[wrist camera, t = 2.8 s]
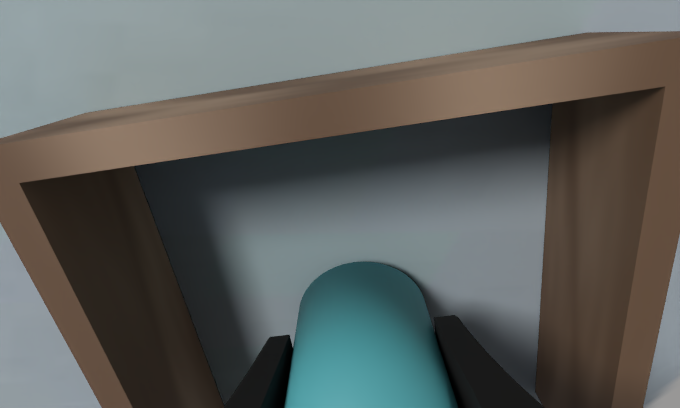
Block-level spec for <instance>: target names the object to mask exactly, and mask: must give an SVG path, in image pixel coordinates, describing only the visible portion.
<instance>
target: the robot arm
mask: <svg viewBox="0 0 680 408" xmlns="http://www.w3.org/2000/svg"><path fill="white" fill-rule="evenodd" d="M434 321H435V335H436V338H437V342H438V345H439V348H440V351H441V354H442V357H443V361H444V364H445V367H446V370H447V373H448V376H449V380H450V383H451V386H452V389H453V392H454V395H455V399H456V402H457V405H458V408H545V407H543V406H542V405H541V404H540V403H539V402H538V401H537V400H535V399H534V398H533V397H532V396H531V395H530V394H529V393H528V392H526V391H525V390H524V389H523V388H522V387H521V386H520V385H519V384H518V383H517V382H516V381H515V380H514V379H513V378H512V377H511V376H510V375H509V374H507V373H506V372H505V371H504V370H503V368H502V367H501V366H500V365H499V364H498V363H497V362H496V361H495V360H494V359H493V358H492V357H491V356H490V355H489V354H488V353H487V352H486V351H485V349H484V348H483V347H482V346H481V345H480V344H479V343H478V342H477V340H476V339H475V338H474V337H473V336H472V335H471V333H470V332H469V331H468V330H467V328H466V327H465V326H464V325H463V323H462V322H461V321H460V319H459V318H458V317H456V316H455V315H452V316H444V317H435V318H434ZM292 353H293V347H292V343H291V339H290V335H283V336H275V337H270V338H269V339H268V340H267V342H266V344H265V345H264V347H263V348H262V350H261V352H260V353H259V355H258V357H257V358H256V360H255V362H254V363H253V365H252V366H251V368H250V369H249V371H248V373H247V374H246V376H245V377H244V379H243V380H242V382H241V383H240V385H239V386H238V388H237V389H236V391H235V392H234V394H233V395H232V396H231V398H230V399H229V401H228V402H227V403H226V405H225V406H224V407H223V408H284V404H285V398H286V391H287V385H288V379H289V372H290V366H291V359H292Z"/></svg>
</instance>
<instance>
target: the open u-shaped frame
mask: <svg viewBox="0 0 680 408" xmlns="http://www.w3.org/2000/svg"><path fill="white" fill-rule="evenodd" d="M551 103H553V104H552V121H551V138H550V154H549V171H548V188H547V205H546V221H545V238H544V255H543V272H542V288H541V305H540V322H539V339H538V355H537V372H536V389H535V392H536V394H537V396H538V397H539V399H540V401H541V403H542V405H543V407H545V408H643V404H644V399H645V395H646V390H647V385H648V380H649V376H650V371H651V366H652V362H653V357H654V352H655V347H656V343H657V338H658V333H659V329H660V324H661V319H662V314H663V310H664V305H665V300H666V295H667V291H668V286H669V281H670V277H671V272H672V267H673V262H674V258H675V253H676V248H677V244H678V239H679V234H680V31H676V32H599V33H582V34H576V35H570V36H563V37H557V38H551V39H545V40H538V41H532V42H526V43H520V44H513V45H507V46H501V47H495V48H488V49H482V50H476V51H470V52H463V53H457V54H451V55H445V56H438V57H432V58H426V59H420V60H413V61H407V62H401V63H395V64H388V65H382V66H376V67H370V68H363V69H357V70H351V71H345V72H338V73H332V74H326V75H320V76H313V77H307V78H301V79H295V80H288V81H282V82H276V83H270V84H263V85H257V86H251V87H245V88H238V89H232V90H226V91H220V92H213V93H207V94H201V95H195V96H188V97H182V98H176V99H170V100H163V101H157V102H151V103H145V104H138V105H132V106H126V107H120V108H113V109H107V110H101V111H95V112H88V113H84V114H80V115H77V116H74V117H70V118H67V119H64V120H60V121H57V122H54V123H50V124H47V125H44V126H40V127H37V128H34V129H30V130H27V131H24V132H20V133H17V134H14V135H10V136H7V137H4V138H0V222H1V224H2V226H3V228H4V230H5V232H6V233H7V235H8V237H9V239H10V241H11V243H12V244H13V246H14V248H15V250H16V252H17V254H18V255H19V257H20V259H21V261H22V263H23V264H24V266H25V268H26V270H27V272H28V274H29V275H30V277H31V279H32V281H33V283H34V285H35V286H36V288H37V290H38V292H39V294H40V295H41V297H42V299H43V301H44V303H45V305H46V306H47V308H48V310H49V312H50V314H51V316H52V317H53V319H54V321H55V323H56V325H57V326H58V328H59V330H60V332H61V334H62V336H63V337H64V339H65V341H66V343H67V345H68V347H69V348H70V350H71V352H72V354H73V356H74V357H75V359H76V361H77V363H78V365H79V367H80V368H81V370H82V372H83V374H84V376H85V378H86V379H87V381H88V383H89V385H90V387H91V389H92V390H93V392H94V394H95V396H96V398H97V399H98V401H99V403H100V405H101V407H102V408H223V407H224V405H223V402H222V400H221V397H220V394H219V392H218V389H217V386H216V384H215V381H214V378H213V376H212V373H211V370H210V368H209V365H208V362H207V360H206V357H205V354H204V352H203V349H202V346H201V344H200V341H199V339H198V336H197V333H196V331H195V328H194V325H193V323H192V320H191V317H190V315H189V312H188V309H187V307H186V304H185V301H184V299H183V296H182V293H181V291H180V288H179V285H178V283H177V280H176V277H175V275H174V272H173V269H172V267H171V264H170V261H169V259H168V256H167V253H166V251H165V248H164V245H163V243H162V240H161V237H160V235H159V232H158V229H157V227H156V224H155V221H154V219H153V216H152V213H151V211H150V208H149V206H148V203H147V200H146V198H145V195H144V192H143V190H142V187H141V184H140V182H139V179H138V176H137V174H136V171H135V168H134V166H136V165H143V164H150V163H156V162H163V161H170V160H177V159H183V158H190V157H197V156H203V155H210V154H217V153H223V152H230V151H237V150H243V149H250V148H257V147H264V146H270V145H277V144H284V143H290V142H297V141H304V140H310V139H317V138H324V137H330V136H337V135H344V134H351V133H357V132H364V131H371V130H377V129H384V128H391V127H397V126H404V125H411V124H417V123H424V122H431V121H438V120H444V119H451V118H458V117H464V116H471V115H478V114H484V113H491V112H498V111H504V110H511V109H518V108H524V107H531V106H538V105H545V104H551Z"/></svg>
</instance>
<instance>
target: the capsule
mask: <svg viewBox="0 0 680 408" xmlns="http://www.w3.org/2000/svg"><path fill="white" fill-rule="evenodd" d="M284 408H458V405H457V402H456V399H455V395H454V392H453V389H452V386H451V383H450V380H449V376H448V373H447V370H446V367H445V364H444V361H443V357H442V354H441V351H440V348H439V345H438V342H437V338H436V335H435V332H434V329H433V326H432V322H431V319H430V316H429V313H428V310H427V306H426V303H425V300H424V297H423V295H422V293H421V291H420V289H419V288H418V286H417V285H416V284H415V283H414V282H413V281H412V280H411V279H410V278H409V277H408V276H407V275H405V274H404V273H403V272H401V271H399V270H397V269H395V268H393V267H390V266H388V265H384V264H380V263H374V262H353V263H348V264H343V265H340V266H337V267H335V268H332V269H330V270H328V271H326V272H325V273H323V274H322V275H320V276H319V277H318V278H317V279H315V280H314V281H313V282H312V283H311V284H310V286H309V287H308V288H307V290H306V291H305V293H304V295H303V297H302V300H301V303H300V308H299V314H298V321H297V327H296V334H295V340H294V346H293V353H292V359H291V366H290V372H289V379H288V385H287V391H286V398H285V404H284Z"/></svg>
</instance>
